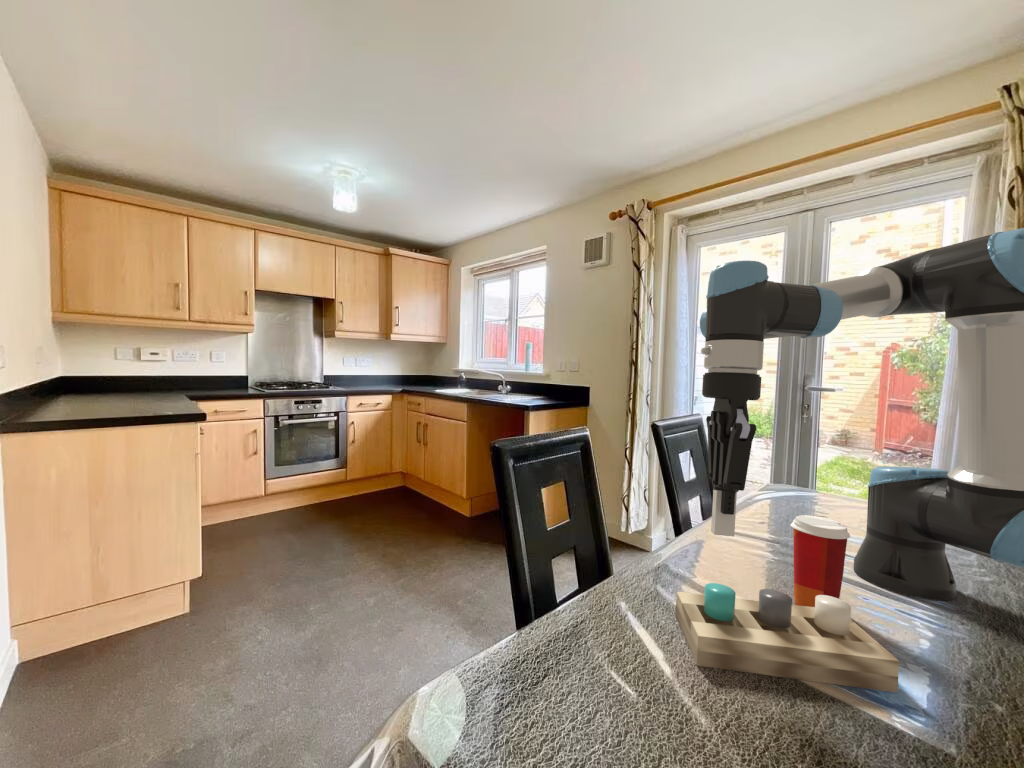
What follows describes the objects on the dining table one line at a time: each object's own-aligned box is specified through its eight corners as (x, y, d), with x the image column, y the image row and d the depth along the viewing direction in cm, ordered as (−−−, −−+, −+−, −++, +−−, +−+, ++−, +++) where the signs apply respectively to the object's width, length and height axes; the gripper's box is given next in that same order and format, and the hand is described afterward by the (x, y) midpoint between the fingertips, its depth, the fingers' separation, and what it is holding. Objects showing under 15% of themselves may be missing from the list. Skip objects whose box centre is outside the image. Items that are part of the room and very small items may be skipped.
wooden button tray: (838, 635, 65) (840, 610, 65) (897, 692, 53) (899, 661, 53) (675, 616, 69) (676, 591, 69) (696, 665, 57) (698, 635, 57)
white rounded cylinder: (838, 620, 62) (839, 596, 62) (856, 637, 58) (858, 611, 58) (808, 617, 62) (809, 593, 62) (824, 633, 58) (825, 607, 58)
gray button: (782, 614, 63) (783, 590, 63) (796, 629, 59) (797, 604, 59) (753, 610, 63) (754, 587, 63) (765, 626, 59) (766, 601, 59)
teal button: (728, 607, 64) (729, 584, 64) (738, 622, 60) (740, 598, 60) (700, 604, 64) (701, 581, 64) (708, 619, 60) (709, 594, 60)
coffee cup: (834, 601, 76) (839, 518, 76) (854, 626, 68) (859, 533, 68) (780, 592, 79) (784, 511, 78) (793, 614, 71) (798, 525, 71)
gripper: (692, 371, 69) (684, 517, 69) (719, 369, 56) (709, 548, 56) (741, 373, 67) (733, 521, 68) (781, 372, 55) (770, 554, 55)
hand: (722, 533), depth 62 cm, fingers closed
